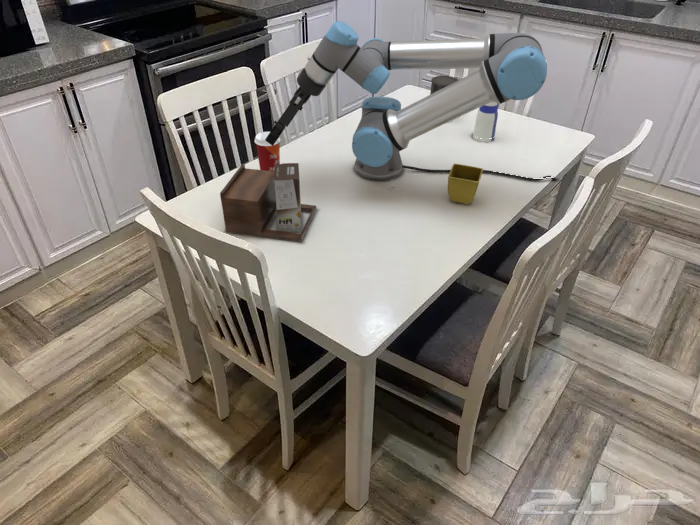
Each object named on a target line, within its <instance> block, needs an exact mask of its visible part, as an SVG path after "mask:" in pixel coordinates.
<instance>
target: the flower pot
mask: <svg viewBox="0 0 700 525" xmlns="http://www.w3.org/2000/svg"><path fill="white" fill-rule="evenodd" d="M450 170H451V171H450V172H448V176H447V194H448V195H447V196H448V197H449V199H450V201H451V202H455V203H458V204H465V205H469V204H470V203H471V202H472V201H473V200H474V199H475V197H476V194H477V191H478V187H479V185H480V182H481V178H482V175H483V170H484V168H481V167H478V166H472V165H467V164H466V165H465V164H460V163H453V164H452V166H451V168H450Z"/></svg>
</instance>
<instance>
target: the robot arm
mask: <svg viewBox="0 0 700 525" xmlns="http://www.w3.org/2000/svg"><path fill="white" fill-rule="evenodd" d="M358 41H359V34H358V32H357V31H356V30H354V28H353V27H352V26H351V25H350V24H348V23H347V22H344V21H341V20H338V21H334V22H333V23H332V24H331V26H330V27H329V28H328V31H326V33H325V34H324V35H323V38H322V39H321V40H320V42H319V43H318V45H317V46H316V48H315V50H314V51H313V53H312V55H311V56H310V55H308V56H307V62H306V64H304V67H303V68H302V70H300V72H299V74H298V76H296V82H297V86H299V87H298V88H297V89H296V90H295V92H294V94H293V96H292V97H291V99H290V100H289V102H288V103H289V104H288V105H287V107H286V109H285V110H284V111H283V113H282V114H281V116H280V117H279V119H277V121H276V120H274V121H273V124H274V126H273V127H272V129H271V130H270V131H269V132H270V133H269V135H268V136H267V138H266V139H265V141H267V142H268V143H269V144H271V145H272V146H273V145H274V143H275V142H276V141H277V139H278V138H280V136H281V135H282V133H283V132H284V131H285V129H286V128H288V126H289V125H290V124H291V122H292V121H293V120H294V118H295V117H296V115H297V114H298V112H299V111H300V112H301V111H302V110H303V109H304V107H303V106H304V105H305V104H306V103H307V102H308V101H309V99H310V98H311V96H312V97H318V96H320V95H321V94H322V92H323V91H324V89H325V88H326V86H327V85H328V84H329V83H330V82H331V80H332V78H333V77H334V76H335V74H336V73H337V71H338V69H339V70H340V71H341V72H342V73H344V74H345V75H346V76H348V77H349V78H350V79H351V80H352V81H354V82H355V83H356V84H357V85H359V86H360V87H361V88H362V89H363V90H365V91H366V92H368V93H369V94H371V95H376V94H378V93H379V91H381V89H382V88H383V87H384V85H385V84H386V83H387V81H388V79H389V78H390V75H391V72H390V71H406V70H408V71H410V70H412V71H413V70H415V71H416V70H418V71H419V70H460V69H461V70H463V69H478V70H476V71H474V72H472V73H470V74H469V75H466V76H465V77H462V78H460V79H458V81H456V82H455V83H453V84H451V85H449V86H447V87H445V88H443V89H441V90H439V91H437V92H435V93H433V94H431V95H430V94H429V95H427V96H425V97H423V98H420V99H419V100H416V101H415V102H413V103H411V104H409V105H407V106H405V107H403V108H402V103H401V101H400V100H398V99H396V98H393V97H389V96H370V97H366V98H365V99H363V101H362V104H361V118H360V119H359V120H360V121H359V123H358V125H357V127H356V129H355V131H354V133H353V135H352V141H351V149H352V152H353V155H354V157H355V161H354V170H355V172H356V174H358V175H359V176H360V177H362V178H365V179H368V180H372V181H388V180H392V179H395V178H397V177H399V176H400V175H401V174H402V172H403V169H407V170H412V171H417V172H424V173H425V172H426V173H450V171H451V169H429V168H421V167H415V166H410V165H404V164H403V160H402V157H401V153H400V152H402V151H403V150H405V149H407V148H408V146H409V144H410V142H411V141H412V140H413V139H415V138H418V137H420V136H422V135H424V134H426V133H428V132H430V131H432V130H435V129H437V128H439V127H441V126H443V125H445V124H447V123H449V122H452V121H454V120H456V119H458V118H460V117H462V116H464V115H466V114H468V113H471V112H472V111H475V110H477V109H479V108H480V107H481V106H483V105H486V104H488V103H490V102H495V103H498V104H499V105H501V104H504V103H507V102H508V101H511V100H514V101H523V100H528V99H529V98H531V97H533V96H534V95H536V94H537V93H538V92H539V91H540V90H541V89H542V88H543V86H544V84H545V82H546V79H547V76H548V63H547V58H546V57H545V55H544V51H543V48H542V46H541V44H540V42H539V41H538V40H537V39H536V38H535V37H534V36H532V35H530V34H527V33H522V32H505V33H488V34H486V36H485V37H483V38H458V39H455V38H453V39H431V40H430V39H428V40H427V39H425V40H400V41H399V40H398V41H384V40H382V39H381V38H378V37H374V38H370V39H368V40H366V42H365V43H364V44H363V45H362V46H359V44H358ZM493 171H494V170H489V169H488V170H487V169H483V172H482V174H483V173H485V174H492V175H499V176H504V177H510V178H514V179H521V180H525V181H532V182H538V181H539V182H540V181H543V180H547V179H548V178H546V177H551V176H552V175H544V176H542V177H543V178H546V179H533V178H534V177H528V178H526V177H527V176H523V177H521V176H522V175H518V176H516V175H517V174H513V175H510V174H511V173H507V174H505V173H506V172H502V173H499V172H500V171H496V172H493ZM553 177H554V178H550V179H551V180H552V181H554V182H556V181H557V178H556V177H555V176H553Z"/></svg>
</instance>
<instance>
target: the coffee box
mask: <svg viewBox="0 0 700 525" xmlns="http://www.w3.org/2000/svg"><path fill="white" fill-rule="evenodd" d="M299 167H300V166H299V163H298V162H286V163H285V162H284V163H280V164H275V172H274V185H275V197H276V209H277V215H276V217H277V220H276V221H277V231H285V232H293V233H301V232H302V212H301V204H302V203H301V202H302V199H301V185H300V184H301V183H300V168H299Z"/></svg>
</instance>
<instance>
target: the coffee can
mask: <svg viewBox="0 0 700 525" xmlns="http://www.w3.org/2000/svg"><path fill="white" fill-rule="evenodd" d="M458 80H459V78H457V77H454V76H449V75H437V76H434V77H432V78H431V81H430V82H431V85H430V93H429V95H431V94H433V93H435V92H437V91H439V90H441V89H443V88H445V87H447V86H449V85H451V84H453V83H455V82H456V81H458Z"/></svg>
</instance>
